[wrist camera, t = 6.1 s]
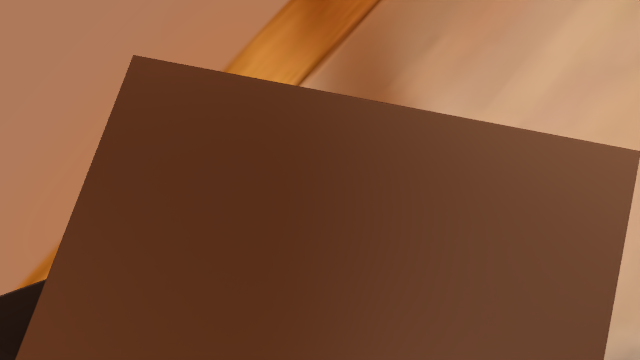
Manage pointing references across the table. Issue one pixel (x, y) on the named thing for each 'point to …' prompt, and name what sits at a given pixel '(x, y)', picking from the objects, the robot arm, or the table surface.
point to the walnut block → (329, 232)
